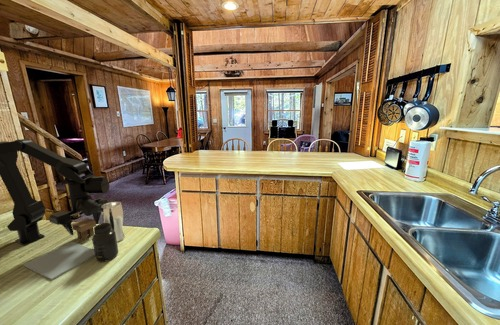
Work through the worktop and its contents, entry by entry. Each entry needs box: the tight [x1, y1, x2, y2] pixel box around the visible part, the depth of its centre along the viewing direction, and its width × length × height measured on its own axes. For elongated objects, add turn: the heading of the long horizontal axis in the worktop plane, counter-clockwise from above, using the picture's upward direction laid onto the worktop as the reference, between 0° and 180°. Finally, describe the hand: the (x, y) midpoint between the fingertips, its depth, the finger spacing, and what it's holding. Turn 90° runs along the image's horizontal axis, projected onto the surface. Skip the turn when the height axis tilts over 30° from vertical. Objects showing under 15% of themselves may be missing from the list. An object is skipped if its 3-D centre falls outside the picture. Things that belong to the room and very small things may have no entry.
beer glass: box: [101, 201, 125, 243], centre depth 83 cm, size 7×7×15 cm
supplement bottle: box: [91, 222, 119, 263], centre depth 73 cm, size 7×7×12 cm
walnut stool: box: [71, 217, 97, 241], centre depth 85 cm, size 6×6×6 cm
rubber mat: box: [23, 241, 95, 281], centre depth 72 cm, size 16×14×1 cm
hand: (84, 229), depth 85 cm, fingers open, 9 cm apart
